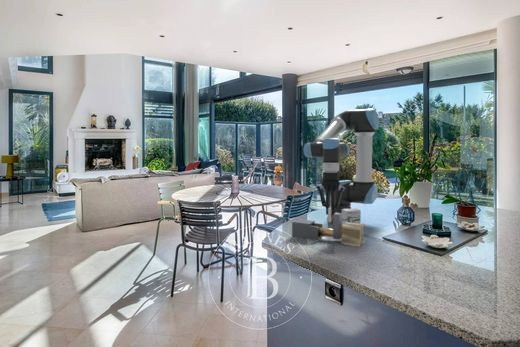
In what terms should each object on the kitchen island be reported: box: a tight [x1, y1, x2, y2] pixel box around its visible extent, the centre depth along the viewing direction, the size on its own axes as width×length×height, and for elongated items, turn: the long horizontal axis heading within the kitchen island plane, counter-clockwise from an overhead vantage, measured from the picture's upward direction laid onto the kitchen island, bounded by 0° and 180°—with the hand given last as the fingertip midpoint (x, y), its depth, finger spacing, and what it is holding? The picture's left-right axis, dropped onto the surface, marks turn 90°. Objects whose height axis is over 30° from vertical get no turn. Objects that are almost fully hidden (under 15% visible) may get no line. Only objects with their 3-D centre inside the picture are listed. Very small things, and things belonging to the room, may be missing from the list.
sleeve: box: [291, 218, 323, 241], centre depth 163 cm, size 7×13×8 cm, turn 61°
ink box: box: [342, 208, 362, 225], centre depth 171 cm, size 9×5×12 cm, turn 103°
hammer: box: [318, 213, 342, 240], centre depth 156 cm, size 4×18×12 cm, turn 61°
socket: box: [341, 222, 365, 248], centre depth 152 cm, size 8×8×8 cm
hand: (330, 221), depth 157 cm, fingers closed
